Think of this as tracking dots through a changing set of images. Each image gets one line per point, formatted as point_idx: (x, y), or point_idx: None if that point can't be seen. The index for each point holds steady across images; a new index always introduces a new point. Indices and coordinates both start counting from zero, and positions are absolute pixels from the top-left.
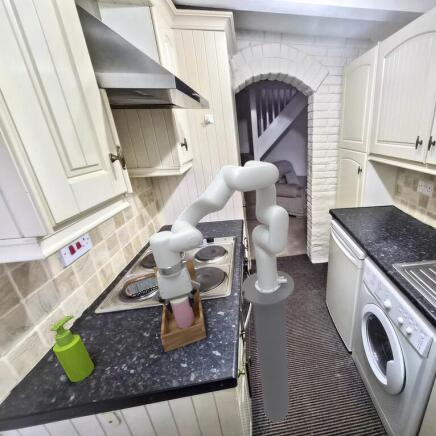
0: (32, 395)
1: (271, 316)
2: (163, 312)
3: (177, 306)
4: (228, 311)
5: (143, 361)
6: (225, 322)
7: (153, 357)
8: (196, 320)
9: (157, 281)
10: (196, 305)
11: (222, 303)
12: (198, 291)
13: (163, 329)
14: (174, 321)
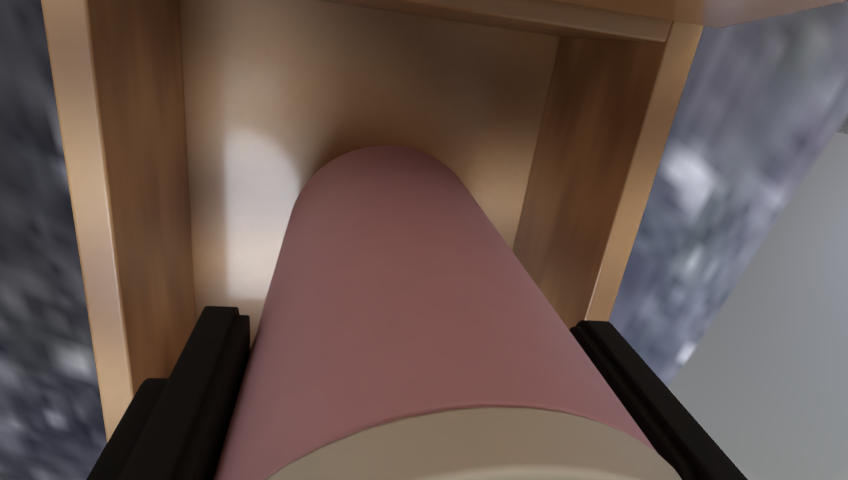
0: None
1: (844, 132)
2: (66, 86)
3: None
4: (745, 195)
5: (13, 385)
6: (662, 301)
7: (93, 381)
8: (477, 184)
9: None
10: (561, 34)
11: (770, 45)
12: (804, 4)
13: None
14: (253, 63)
